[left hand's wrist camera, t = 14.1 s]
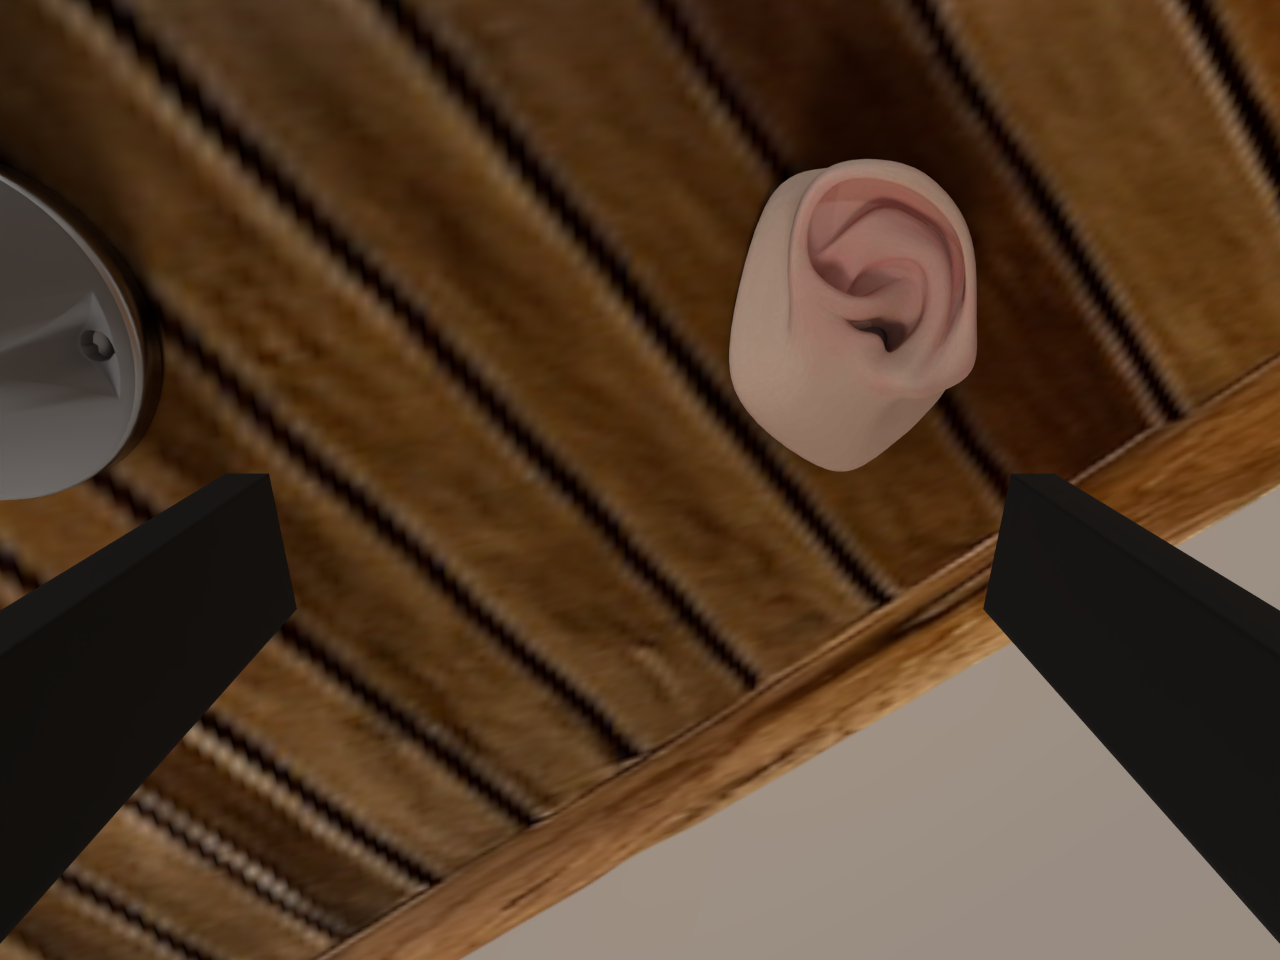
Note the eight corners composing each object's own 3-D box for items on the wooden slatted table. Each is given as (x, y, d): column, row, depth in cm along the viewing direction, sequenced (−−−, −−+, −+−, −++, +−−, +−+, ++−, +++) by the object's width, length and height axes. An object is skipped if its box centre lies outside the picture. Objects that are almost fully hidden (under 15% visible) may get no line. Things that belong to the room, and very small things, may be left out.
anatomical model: (920, 522, 31) (686, 442, 30) (889, 490, 35) (680, 417, 33) (1082, 232, 27) (817, 120, 25) (1027, 230, 30) (793, 132, 29)
